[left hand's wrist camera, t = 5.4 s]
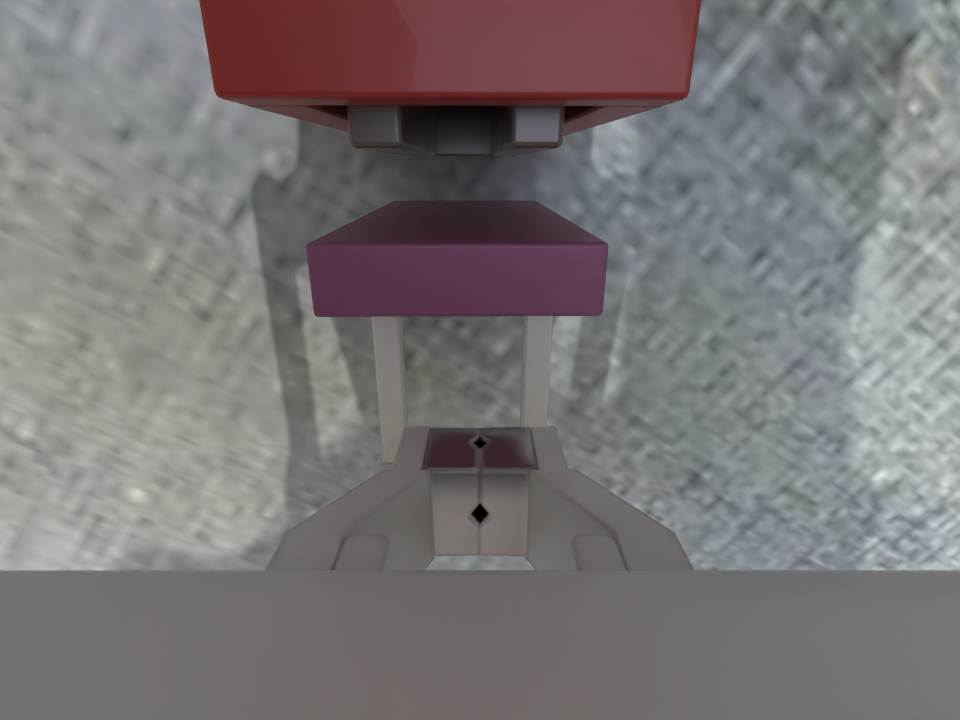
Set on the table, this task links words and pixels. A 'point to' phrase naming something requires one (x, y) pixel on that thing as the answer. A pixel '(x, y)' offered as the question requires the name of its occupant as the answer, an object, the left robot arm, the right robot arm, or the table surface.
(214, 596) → the left robot arm
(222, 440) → the table surface
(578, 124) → the red yellow-edged box
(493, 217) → the drawer
